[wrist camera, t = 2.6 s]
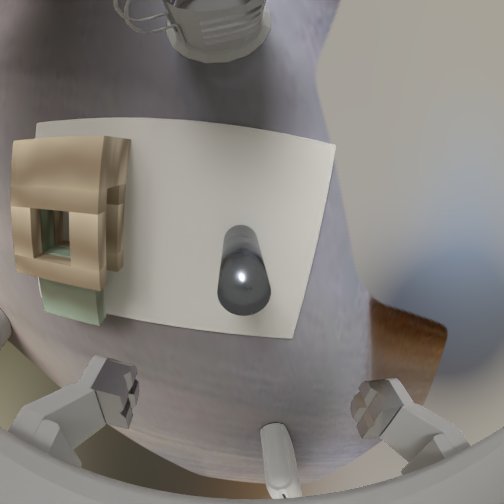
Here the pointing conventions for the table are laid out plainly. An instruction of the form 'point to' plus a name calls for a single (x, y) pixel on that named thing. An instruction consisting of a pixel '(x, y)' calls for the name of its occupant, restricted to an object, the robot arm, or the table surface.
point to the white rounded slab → (279, 462)
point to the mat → (210, 217)
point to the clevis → (80, 218)
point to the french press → (211, 27)
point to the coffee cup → (4, 328)
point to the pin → (242, 273)
